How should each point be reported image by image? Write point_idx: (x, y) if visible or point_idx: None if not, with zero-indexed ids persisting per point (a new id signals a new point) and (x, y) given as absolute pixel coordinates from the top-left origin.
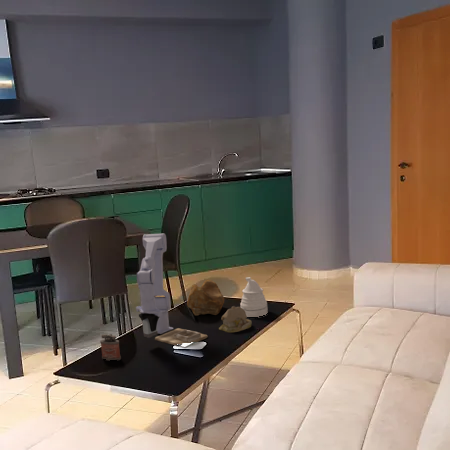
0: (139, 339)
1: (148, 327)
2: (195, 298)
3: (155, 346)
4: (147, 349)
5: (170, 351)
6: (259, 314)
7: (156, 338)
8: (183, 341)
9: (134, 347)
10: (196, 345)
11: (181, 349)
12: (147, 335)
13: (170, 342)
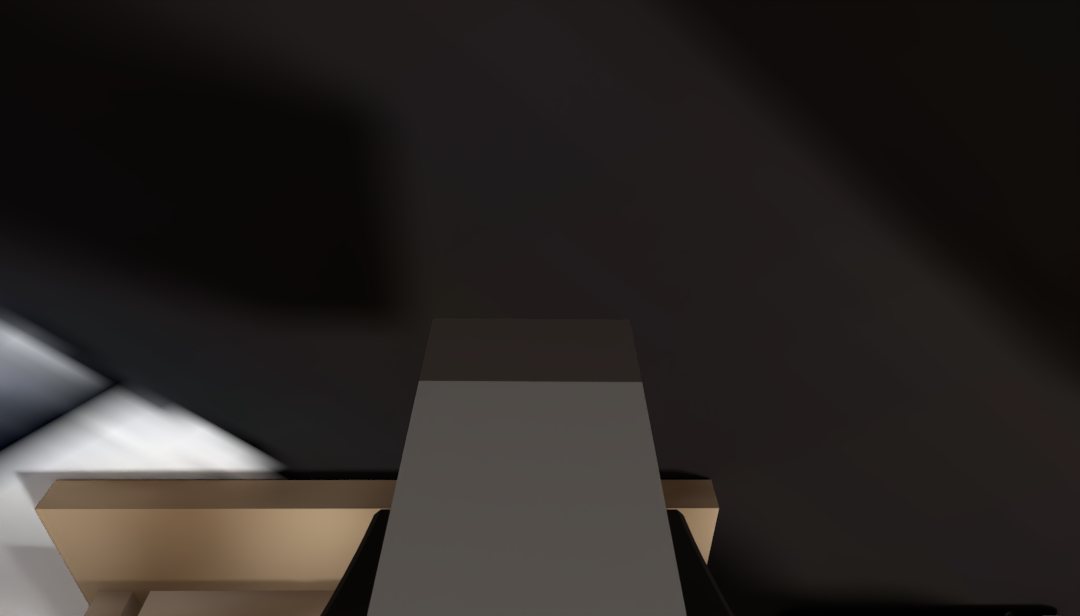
0: (988, 388)
1: (381, 587)
2: None
3: None
4: (485, 155)
5: (50, 300)
6: None
7: (679, 501)
8: (201, 582)
9: (828, 87)
10: (29, 583)
11: (17, 427)
12: (465, 356)
13: (350, 499)
